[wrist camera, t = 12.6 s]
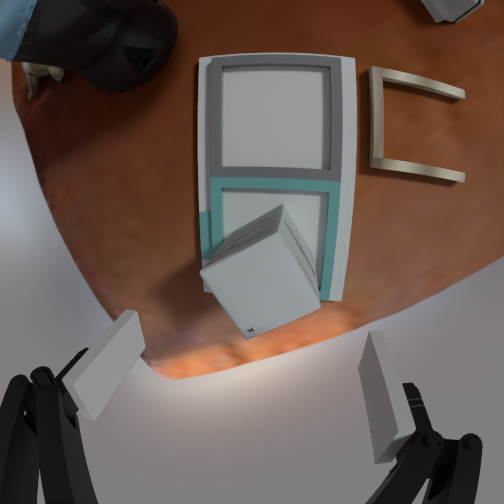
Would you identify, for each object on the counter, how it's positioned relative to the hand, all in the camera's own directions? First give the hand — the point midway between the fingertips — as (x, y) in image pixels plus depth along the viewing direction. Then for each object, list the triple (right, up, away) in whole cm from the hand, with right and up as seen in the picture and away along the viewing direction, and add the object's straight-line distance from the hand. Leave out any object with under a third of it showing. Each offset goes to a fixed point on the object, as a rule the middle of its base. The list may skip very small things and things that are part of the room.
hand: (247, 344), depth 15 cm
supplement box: (+3, +6, +19) cm, 20 cm away
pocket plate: (+3, +14, +17) cm, 22 cm away
